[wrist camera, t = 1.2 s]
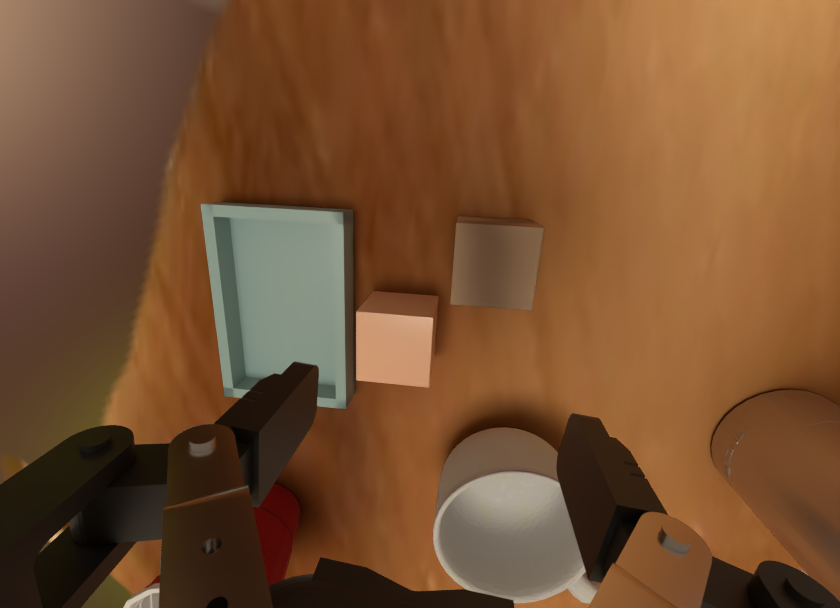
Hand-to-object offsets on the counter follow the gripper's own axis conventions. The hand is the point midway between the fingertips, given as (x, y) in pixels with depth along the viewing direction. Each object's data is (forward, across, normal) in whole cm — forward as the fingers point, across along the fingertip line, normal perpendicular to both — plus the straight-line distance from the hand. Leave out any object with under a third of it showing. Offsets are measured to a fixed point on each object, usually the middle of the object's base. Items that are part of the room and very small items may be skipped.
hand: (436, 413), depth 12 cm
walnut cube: (+18, -2, -2) cm, 18 cm away
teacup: (+18, -8, +16) cm, 25 cm away
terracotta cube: (+17, +3, +4) cm, 18 cm away
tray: (+17, +12, +4) cm, 22 cm away
